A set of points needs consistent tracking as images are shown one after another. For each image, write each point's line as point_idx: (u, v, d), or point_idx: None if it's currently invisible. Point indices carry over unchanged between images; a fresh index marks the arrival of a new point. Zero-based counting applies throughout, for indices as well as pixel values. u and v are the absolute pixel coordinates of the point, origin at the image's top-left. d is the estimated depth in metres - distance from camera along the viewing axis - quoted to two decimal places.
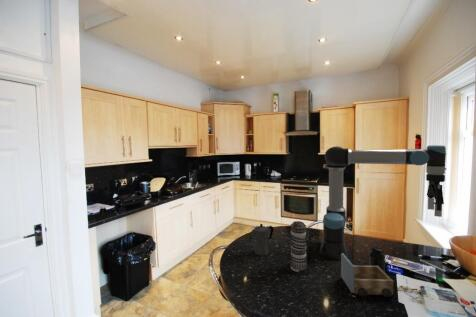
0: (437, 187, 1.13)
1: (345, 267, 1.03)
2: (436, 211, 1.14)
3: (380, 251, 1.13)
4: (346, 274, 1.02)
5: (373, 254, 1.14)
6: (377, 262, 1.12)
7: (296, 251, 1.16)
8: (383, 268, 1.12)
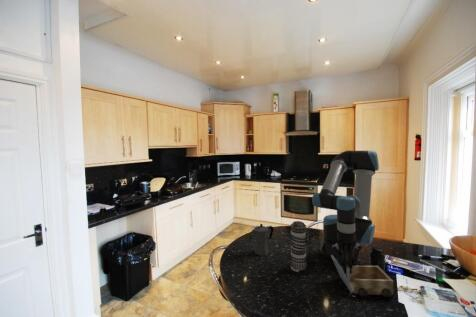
0: None
1: (338, 269, 1.04)
2: None
3: (380, 251, 1.13)
4: (341, 275, 1.03)
5: (373, 254, 1.14)
6: (377, 262, 1.12)
7: (296, 251, 1.16)
8: (383, 268, 1.12)
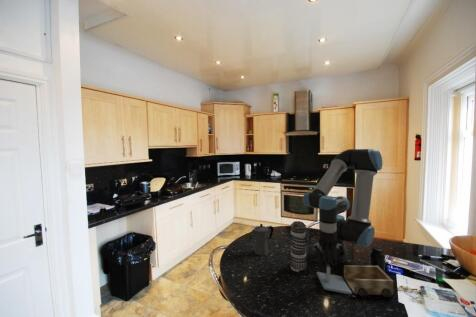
0: None
1: None
2: None
3: (380, 251, 1.13)
4: None
5: (373, 254, 1.14)
6: (377, 262, 1.12)
7: (296, 251, 1.16)
8: (383, 268, 1.12)
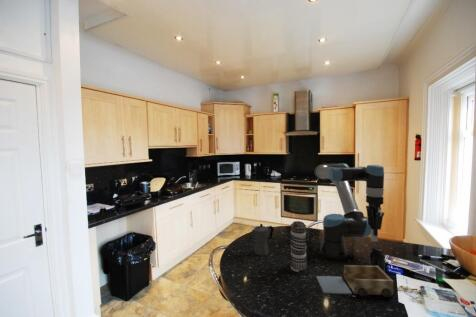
0: (379, 215, 1.07)
1: None
2: (373, 236, 1.13)
3: (380, 251, 1.13)
4: None
5: (373, 254, 1.14)
6: (377, 262, 1.12)
7: (296, 251, 1.16)
8: (383, 268, 1.12)
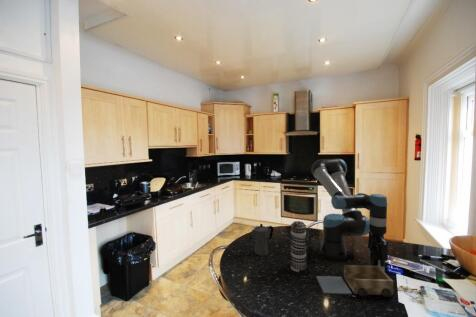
0: (383, 244, 1.08)
1: None
2: (380, 267, 1.11)
3: None
4: None
5: (373, 254, 1.14)
6: (377, 262, 1.12)
7: (296, 251, 1.16)
8: None
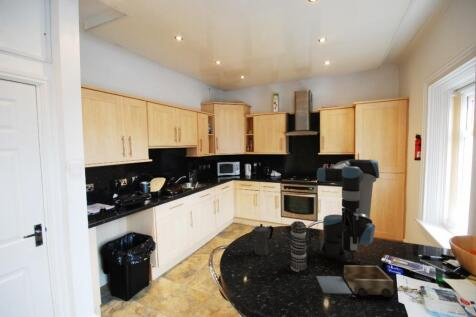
0: (355, 218, 0.99)
1: None
2: (352, 244, 1.02)
3: None
4: None
5: (345, 231, 1.05)
6: (349, 239, 1.03)
7: (296, 251, 1.16)
8: None
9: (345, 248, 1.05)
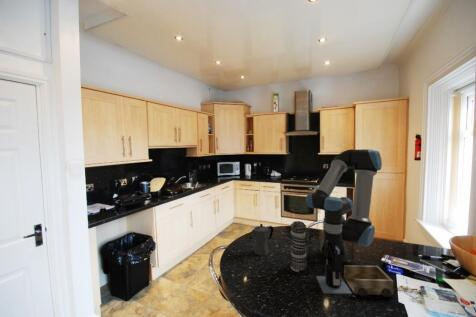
0: (337, 253, 0.96)
1: None
2: (335, 279, 0.98)
3: None
4: None
5: (328, 266, 1.02)
6: (332, 275, 1.00)
7: (296, 251, 1.16)
8: None
9: (328, 283, 1.02)
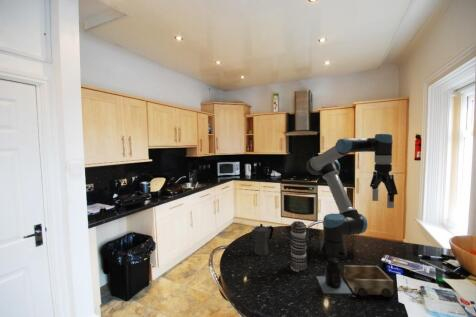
0: (389, 177, 1.07)
1: None
2: (389, 202, 1.08)
3: (335, 263, 1.00)
4: None
5: (328, 266, 1.02)
6: (332, 275, 1.00)
7: (296, 251, 1.16)
8: (338, 282, 1.00)
9: (328, 283, 1.02)
